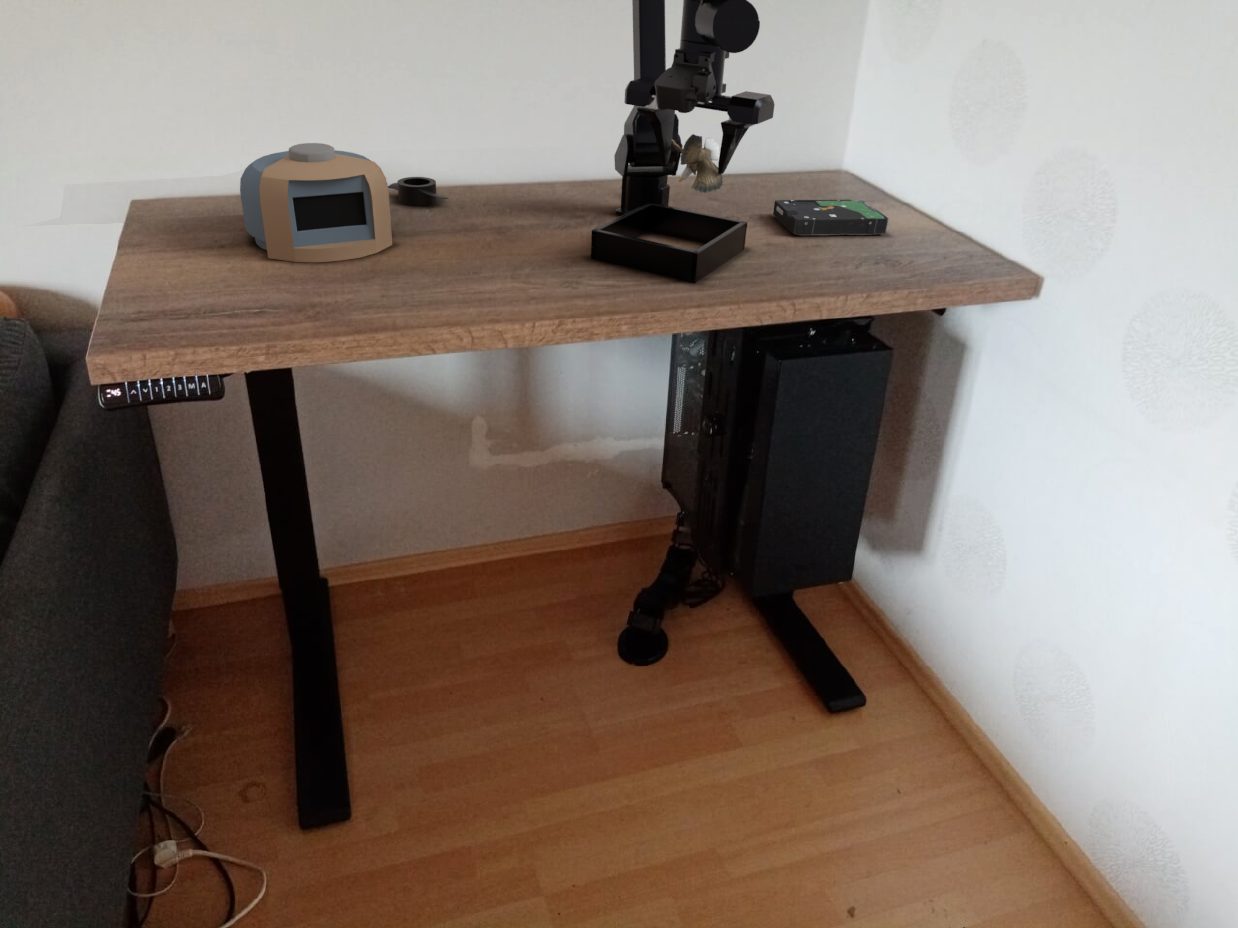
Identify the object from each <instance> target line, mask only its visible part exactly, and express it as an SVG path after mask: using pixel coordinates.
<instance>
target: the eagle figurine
mask: <svg viewBox="0 0 1238 928" xmlns="http://www.w3.org/2000/svg"><path fill="white" fill-rule="evenodd" d="M672 145H673V147H674V148H675V149H676V150H678V151H679V152H681V156H680V165H682V166H683V165H686V166H685V168H684V169H683V171H682V173H681V175H680V178H679V180H678V182H679V183H681V182H683V181H685V180H687V179H689V177H690V176H691V174H693V175H694V176H695V179H694V181H693V184H692V185H691V189H693V190H695V192H699V193H702V194H703V193H704V194H707V193H712V192H714V191H715V192H716V191H718V190H720V189H721V188H722V186H723V183H724V181H723V174H718V165H717V164H715V162H714V161H719V156H720V147H719V144H718V142H717V141H716V140H714V139H713V138H711V137H706V139H705V141H704V145H703V136H702V135H696V134H694V133H692V134H691V135H690V136H689V137H688V139H686V140H685V143H684V144H683V147H682V148H681V147H680V146H679V145H677V144H676V142H675V141H674V140H673V139H672Z"/></svg>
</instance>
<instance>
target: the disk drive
mask: <svg viewBox="0 0 1238 928" xmlns="http://www.w3.org/2000/svg"><path fill="white" fill-rule="evenodd" d="M772 215H773V216H774V217H775V218H776V219H777V220H778V221H779V223H781V224H782V225H783V226H784V227H785V228H786V229H787V230H788V231H789V232H790V233H792V234H793V235H797V236H841V235H843V236H844V235H846V236H847V235H848V236H872V235H882V234H886V233H887V229H888V224H889V217H887V216H886V215H885V214H884V213H882V212H881V211H879V210H878V209H877V208H874V207H872V206H870V205H868V204H867V203H866V201H865V200H861V199H860V200H858V199H779V200H778V199H775V200H774V203H773V212H772Z"/></svg>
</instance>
